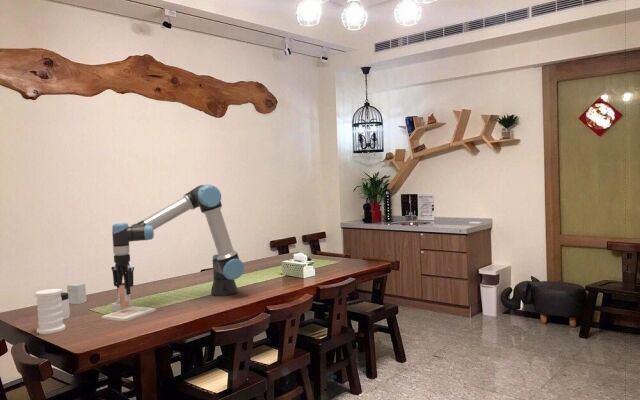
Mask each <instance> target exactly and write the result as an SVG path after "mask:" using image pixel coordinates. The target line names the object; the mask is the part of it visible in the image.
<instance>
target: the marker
mask: <svg viewBox="0 0 640 400" xmlns="http://www.w3.org/2000/svg"><path fill="white" fill-rule="evenodd" d="M119 288H120V306H121V308H126V307H129V301H130V300H129V301H125V294H124V288H125V283H124V282H122V285H119Z"/></svg>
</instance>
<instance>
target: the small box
mask: <svg viewBox="0 0 640 400" xmlns="http://www.w3.org/2000/svg"><path fill="white" fill-rule="evenodd" d="M66 288H67V289H66V290H67V292H66V293H68V296H69V303H70V304H71V305H80V304H83V303H86V302H87V290H86V283H81V282H80V283H79V282H78V283H76V282H75V283H70V284H67V285H66ZM70 304H69V305H70Z"/></svg>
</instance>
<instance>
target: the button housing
mask: <svg viewBox="0 0 640 400" xmlns="http://www.w3.org/2000/svg"><path fill="white" fill-rule="evenodd" d="M132 306H133V302H132V301H131V300H129V307H132ZM129 307H126V308H129ZM126 308H121V306H120V304H117V301H115V302H112V303H110V309H111V311H113V312H116V311H120V310H123V309H126Z"/></svg>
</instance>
